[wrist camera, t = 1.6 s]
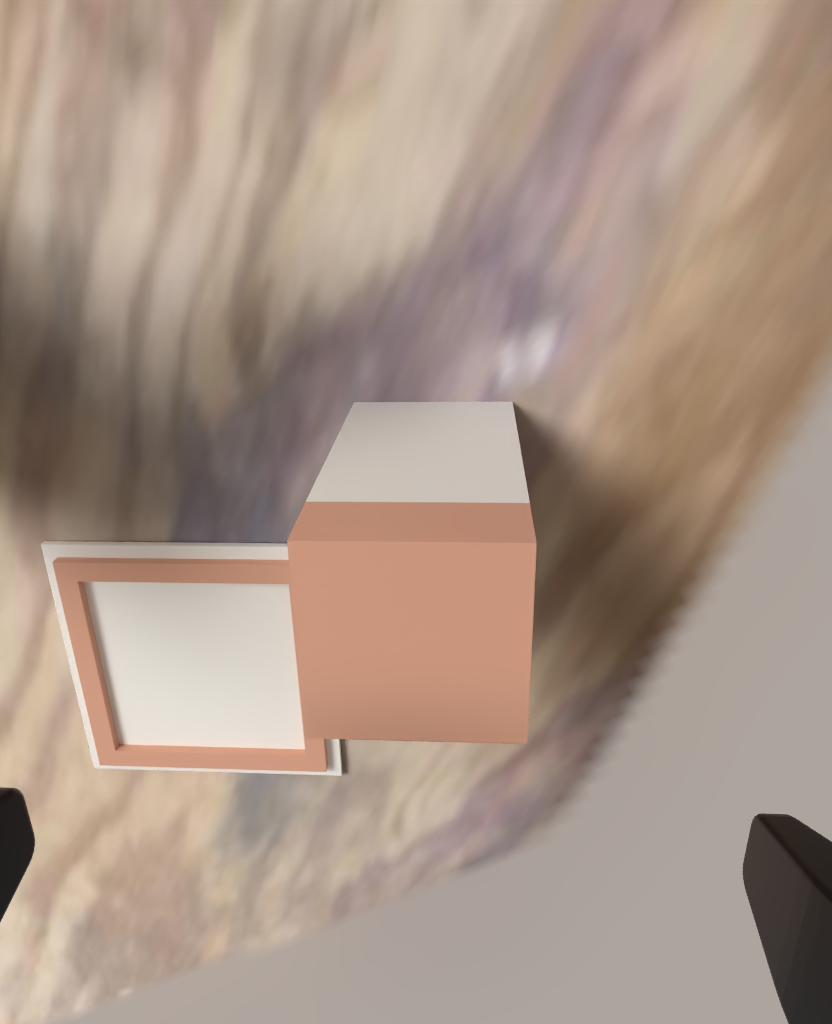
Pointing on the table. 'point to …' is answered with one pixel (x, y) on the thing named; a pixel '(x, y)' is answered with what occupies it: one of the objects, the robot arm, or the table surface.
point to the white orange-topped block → (417, 578)
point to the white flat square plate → (185, 656)
